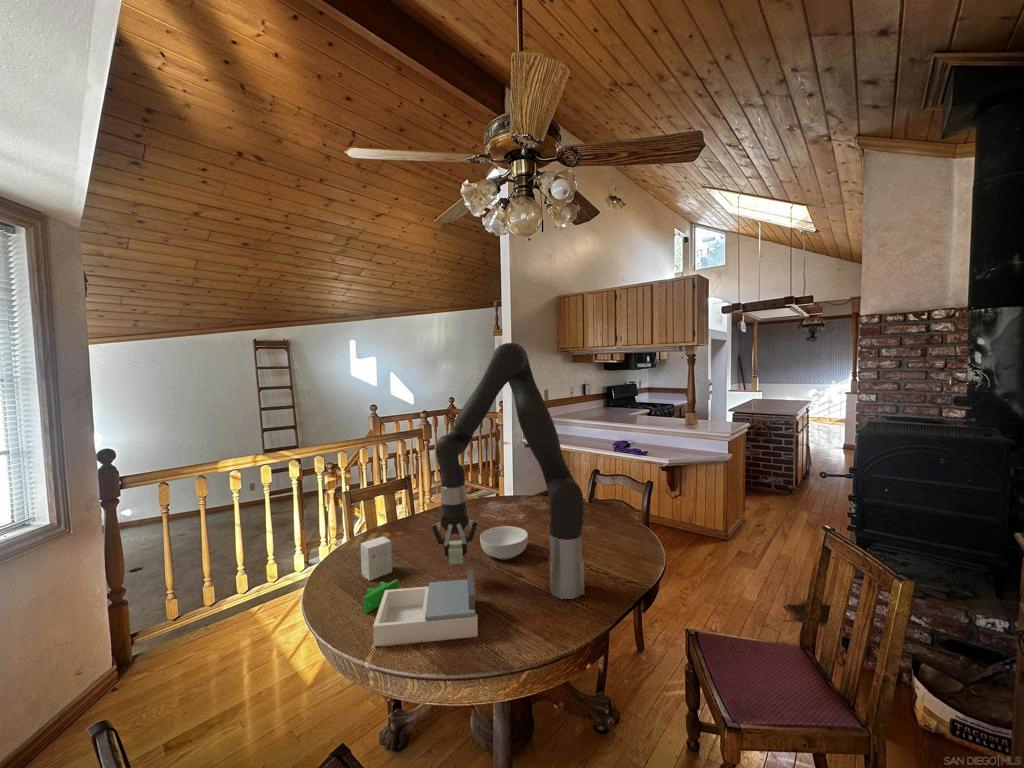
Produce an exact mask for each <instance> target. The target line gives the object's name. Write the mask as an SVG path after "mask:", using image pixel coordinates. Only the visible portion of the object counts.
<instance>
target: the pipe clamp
mask: <svg viewBox="0 0 1024 768" xmlns="http://www.w3.org/2000/svg"><path fill="white" fill-rule="evenodd" d="M399 583H400V581H399V580H398V579H394V580H392V581H390V582H388V583H387V582H386V581H385V582H384V581H383V580H381V581H380V582H379V586H378V587H374V588H369V587H368V588H366V595H364V596H362V607H363V608H362V609H363V612H364V613H363V614H365V613H367V614H369V613H370V612H372V611H373V609H374V610H375V608H376V609H377V608H379V607H380V604H381V601H382V598H383V595H384V592H385V590H393V589H400V584H399ZM378 606H379V607H378ZM371 610H372V611H371ZM369 611H370V612H369ZM368 612H369V613H368Z"/></svg>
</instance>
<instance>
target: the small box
mask: <svg viewBox="0 0 1024 768" xmlns="http://www.w3.org/2000/svg"><path fill="white" fill-rule="evenodd" d="M392 551H393V549H392V540H390V539H388V538H387V537H385V536H384V535H383V536H380V537H377V538H373V539H370V540H367V541H364V542H361V543H360V561H361V563H360V564H361V568H360V569H361V576H362V575H363V576H362V577H364V579H366V580H367V579H368V580H367V581H369V582H371V581H373V579H374V580H375V578H376V579H379V578H381V577H383V575H384V576H386V575H388V573H389V574H391V573H393V555H392ZM380 576H381V577H380ZM378 577H379V578H378ZM370 580H371V581H370Z"/></svg>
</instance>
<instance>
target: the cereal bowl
mask: <svg viewBox="0 0 1024 768" xmlns="http://www.w3.org/2000/svg"><path fill="white" fill-rule="evenodd" d="M479 541H480V547H481V549H482V551H483V553H485V554H486V555H488V556H490V557H492V558H495V559H498V560H510V559H513V558H515V557H516V556H518V555H520V554H522V553H523V552H524V551H525V550H526V548H527V545H528V542H529V535H528V532H527V530H525V529H524V528H521V527H518V526H511V525H509V526H508V525H501V526H496V527H490V528H489V529H486V530H484V531H482V533H481V534H480V536H479Z"/></svg>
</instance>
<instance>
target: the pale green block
mask: <svg viewBox="0 0 1024 768" xmlns="http://www.w3.org/2000/svg"><path fill="white" fill-rule="evenodd" d="M448 564H449V565H458V564H459V565H460V564H464V556H463V550H462V539H460V540H459V539H458V540H449V557H448Z"/></svg>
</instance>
